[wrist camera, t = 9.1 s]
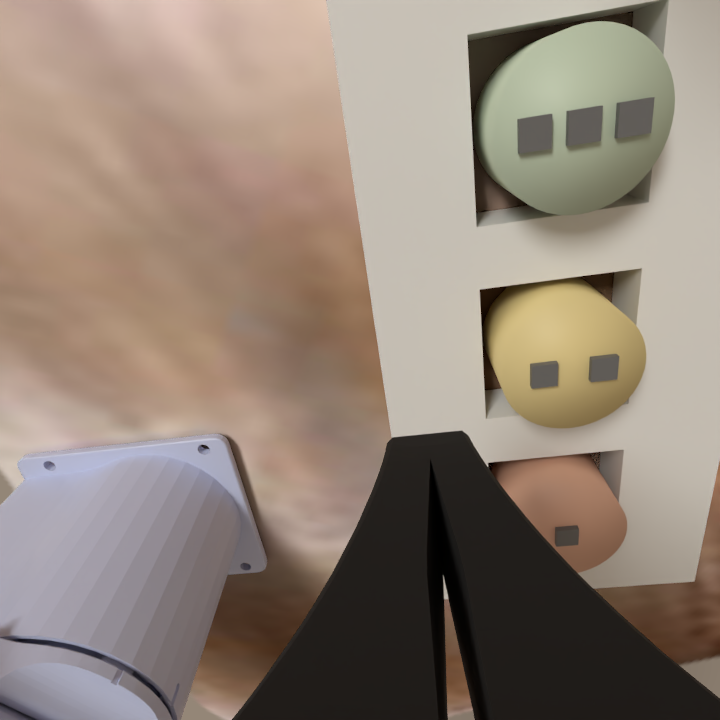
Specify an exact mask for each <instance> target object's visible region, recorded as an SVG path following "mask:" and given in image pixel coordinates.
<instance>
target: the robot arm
mask: <svg viewBox="0 0 720 720" xmlns="http://www.w3.org/2000/svg"><path fill="white" fill-rule="evenodd" d="M201 445H206V446H208V447H209V448H210V449H205V448H203V447H202V446H201ZM51 462H52V463H54V464H55V465H54V464H52V463H51ZM17 465H18V468H19V470H20V472H21V474H22V476H23V477H24V479H25V480H24V481H23V482H22V483H21V484H20V485H19V486H18V487H17V488H16V489H15V490H14V491H13V492H12V494H11V495H10V496H9V497H8V498H7V499H6V500H5V501H4V502H3V503H2V504H1V505H0V720H181V717H182V714H183V711H184V708H185V705H186V702H187V698H188V696H189V693H190V690H191V686H192V683H193V680H194V677H195V674H196V671H197V668H198V665H199V662H200V659H201V656H202V652H203V649H204V646H205V643H206V640H207V637H208V634H209V631H210V628H211V625H212V622H213V618H214V615H215V612H216V609H217V606H218V603H219V600H220V597H221V594H222V591H223V588H224V584H225V581H226V578H227V575H232V574H245V573H257V572H262V571H263V570H265V568H266V565H267V557H266V554H265V551H264V548H263V545H262V542H261V539H260V536H259V533H258V530H257V527H256V524H255V521H254V517H253V514H252V511H251V508H250V505H249V502H248V499H247V496H246V493H245V490H244V487H243V484H242V481H241V478H240V475H239V472H238V468H237V465H236V462H235V459H234V456H233V453H232V450H231V447H230V444H229V441H228V440H227V438H225V437H224V436H222V435H220V434H209V435H199V436H190V437H181V438H172V439H163V440H153V441H144V442H135V443H126V444H117V445H107V446H98V447H89V448H80V449H70V450H61V451H52V452H43V453H34V454H27V455H24V456H23V457H22V458H21V459H20V460H19V461H18V464H17ZM246 563H248V564H246ZM443 576H444V580H445V585H446V589H447V594H448V598H449V603H450V608H451V612H452V617H453V621H454V626H455V630H456V635H457V639H458V644H459V648H460V653H461V657H462V662H463V667H464V671H465V676H466V680H467V685H468V689H469V694H470V698H471V703H472V707H473V712H474V718H475V720H720V698H718V697H717V696H716V695H715V694H713V693H712V692H711V691H710V690H708V689H707V688H706V687H705V686H704V685H702V684H701V683H700V682H699V681H697V680H696V679H695V678H694V677H692V676H691V675H690V674H689V673H688V672H686V671H685V670H684V669H683V668H682V667H680V666H679V665H678V664H677V663H675V662H674V661H673V660H672V659H670V658H669V657H668V656H667V655H666V654H664V653H663V652H662V651H661V650H660V649H659V648H657V647H656V646H655V645H654V644H653V643H652V642H651V641H650V640H648V639H647V638H646V637H645V636H644V635H643V634H642V633H641V632H639V631H638V630H637V629H636V628H635V627H634V626H633V625H632V624H631V623H629V622H628V621H627V620H626V619H625V618H624V617H623V616H622V615H620V614H619V613H618V612H617V611H616V610H615V609H614V608H613V607H612V606H611V605H610V604H609V603H608V602H607V601H606V600H605V599H604V598H603V597H601V596H600V595H599V594H598V593H597V592H596V591H595V590H594V589H593V588H592V587H591V586H590V585H589V584H588V583H587V582H586V581H585V580H584V579H583V578H582V577H581V576H580V575H579V574H578V573H577V572H576V571H575V570H574V569H573V568H572V567H571V566H570V565H569V564H568V563H567V562H566V561H565V560H564V559H563V557H562V556H561V555H560V554H559V553H558V552H557V551H556V550H555V549H554V548H553V547H552V545H551V544H550V543H549V542H548V541H547V540H546V539H545V538H544V537H543V536H542V535H541V533H540V532H539V531H538V530H537V529H536V528H535V526H534V525H533V524H532V523H531V522H530V521H529V520H528V518H527V517H526V516H525V515H524V513H523V512H522V511H521V510H520V509H519V507H518V506H517V505H516V504H515V502H514V501H513V500H512V499H511V497H510V496H509V495H508V494H507V492H506V491H505V490H504V489H503V487H502V486H501V485H500V483H499V482H498V481H497V479H496V478H495V477H494V475H493V474H492V472H491V471H490V469H489V468H488V467H487V465H486V464H485V462H484V461H483V459H482V458H481V456H480V455H479V453H478V452H477V450H476V448H475V447H474V445H473V443H472V441H471V439H470V437H469V435H467V434H466V433H465V432H463V431H462V430H461V431H451V432H441V433H431V434H421V435H411V436H401V437H393V438H392V439H391V440H390V441H389V442H388V443H387V447H386V452H385V455H384V459H383V462H382V465H381V468H380V471H379V474H378V477H377V480H376V482H375V485H374V488H373V490H372V493H371V495H370V497H369V499H368V502H367V504H366V506H365V509H364V511H363V513H362V515H361V518H360V520H359V522H358V524H357V527H356V529H355V531H354V533H353V535H352V537H351V539H350V540H349V542H348V544H347V546H346V548H345V550H344V552H343V554H342V556H341V558H340V560H339V562H338V563H337V565H336V567H335V569H334V571H333V573H332V575H331V576H330V578H329V580H328V582H327V583H326V585H325V587H324V588H323V590H322V592H321V593H320V595H319V597H318V598H317V600H316V602H315V603H314V605H313V607H312V608H311V610H310V611H309V613H308V614H307V616H306V618H305V619H304V621H303V622H302V624H301V625H300V627H299V629H298V630H297V632H296V633H295V635H294V636H293V637H292V639H291V640H290V642H289V643H288V645H287V646H286V647H285V649H284V650H283V652H282V653H281V655H280V656H279V657H278V659H277V660H276V662H275V663H274V665H273V666H272V667H271V669H270V670H269V672H268V673H267V675H266V676H265V677H264V679H263V680H262V681H261V683H260V684H259V685H258V687H257V688H256V690H255V691H254V692H253V694H252V695H251V696H250V697H249V699H248V700H247V701H246V703H245V704H244V705H243V707H242V708H241V709H240V710H239V712H238V713H237V714H236V715H235V717H234V718H233V719H232V720H448V717H447V689H446V653H445V617H444V583H443Z"/></svg>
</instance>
